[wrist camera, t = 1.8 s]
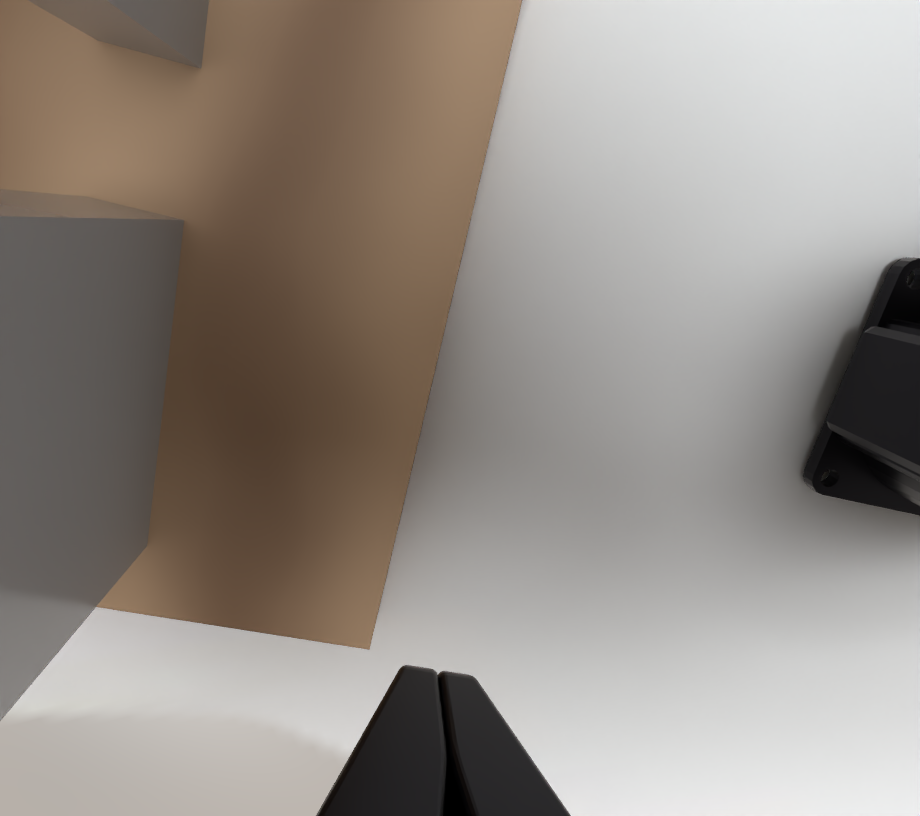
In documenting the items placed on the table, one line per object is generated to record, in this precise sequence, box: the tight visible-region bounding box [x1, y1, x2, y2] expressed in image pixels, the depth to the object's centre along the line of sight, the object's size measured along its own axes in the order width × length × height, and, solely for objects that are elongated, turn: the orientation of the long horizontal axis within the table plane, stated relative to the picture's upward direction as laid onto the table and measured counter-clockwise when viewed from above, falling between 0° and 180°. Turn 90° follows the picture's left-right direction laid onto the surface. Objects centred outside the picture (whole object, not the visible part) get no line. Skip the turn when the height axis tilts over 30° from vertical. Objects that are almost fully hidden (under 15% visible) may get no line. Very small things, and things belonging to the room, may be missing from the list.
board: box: [0, 0, 522, 649], centre depth 13 cm, size 20×22×1 cm
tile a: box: [0, 189, 184, 721], centre depth 10 cm, size 2×8×8 cm, turn 166°
